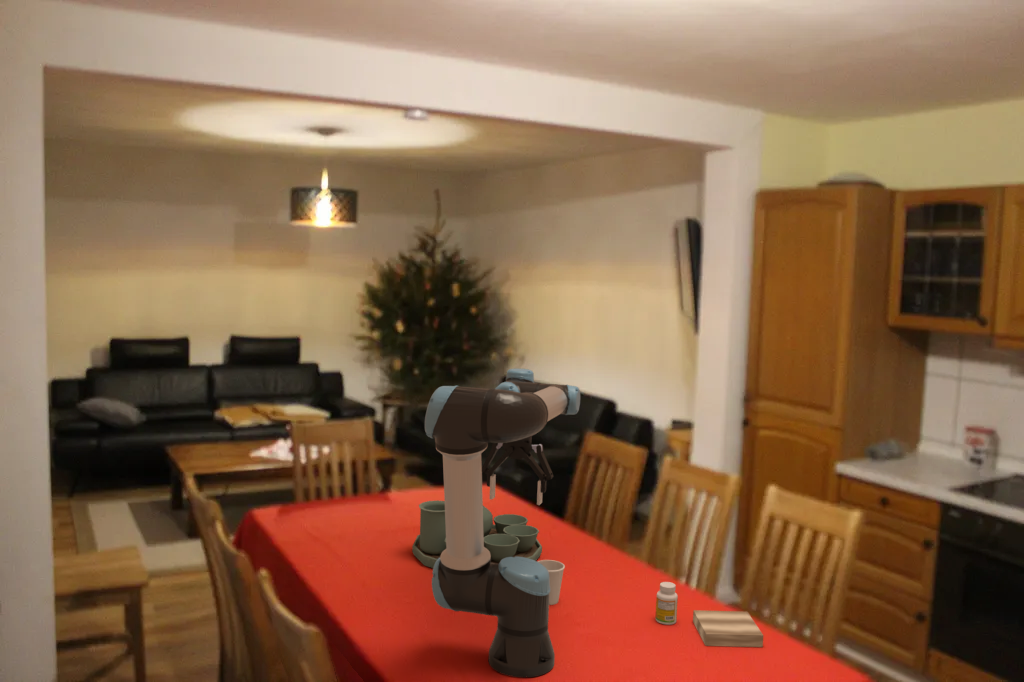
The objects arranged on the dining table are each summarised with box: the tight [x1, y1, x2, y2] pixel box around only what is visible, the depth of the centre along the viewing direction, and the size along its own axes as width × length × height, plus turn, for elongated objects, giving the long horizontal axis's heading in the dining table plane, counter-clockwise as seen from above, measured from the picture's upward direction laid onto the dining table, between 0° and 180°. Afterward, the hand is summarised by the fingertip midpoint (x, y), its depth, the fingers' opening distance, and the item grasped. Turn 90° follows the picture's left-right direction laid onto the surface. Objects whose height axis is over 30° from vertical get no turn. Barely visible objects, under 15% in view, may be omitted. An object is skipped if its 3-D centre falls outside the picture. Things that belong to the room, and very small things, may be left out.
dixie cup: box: [536, 559, 566, 606], centre depth 235 cm, size 8×8×10 cm
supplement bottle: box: [655, 581, 679, 626], centre depth 225 cm, size 5×5×10 cm
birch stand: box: [692, 609, 764, 648], centre depth 219 cm, size 14×14×3 cm
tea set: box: [411, 500, 543, 569], centre depth 271 cm, size 40×40×16 cm
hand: (515, 501), depth 241 cm, fingers open, 13 cm apart
